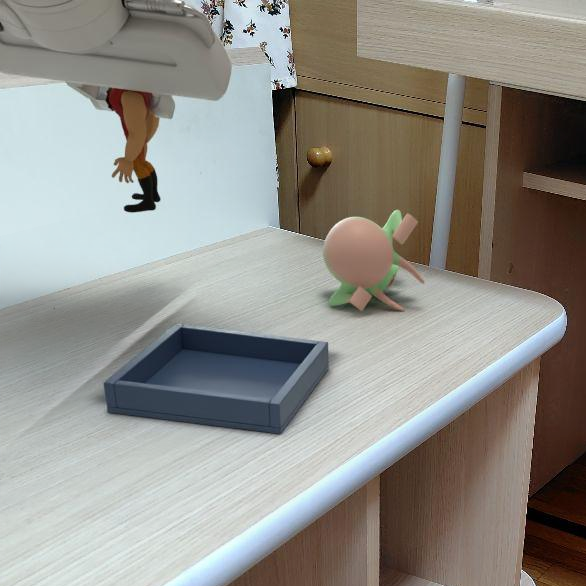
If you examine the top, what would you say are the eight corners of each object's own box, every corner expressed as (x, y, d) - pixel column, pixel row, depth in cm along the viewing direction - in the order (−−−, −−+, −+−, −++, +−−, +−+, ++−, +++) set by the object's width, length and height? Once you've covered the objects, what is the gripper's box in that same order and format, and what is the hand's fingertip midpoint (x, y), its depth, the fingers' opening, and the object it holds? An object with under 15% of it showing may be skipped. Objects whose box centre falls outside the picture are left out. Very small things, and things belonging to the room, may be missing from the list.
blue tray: (107, 412, 76) (102, 382, 75) (178, 350, 88) (175, 323, 86) (280, 434, 76) (279, 404, 74) (328, 368, 87) (328, 341, 86)
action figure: (131, 192, 95) (109, 17, 87) (170, 194, 96) (152, 21, 88) (113, 218, 87) (87, 29, 79) (156, 220, 88) (134, 33, 80)
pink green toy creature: (453, 251, 101) (422, 237, 108) (379, 186, 95) (351, 176, 102) (383, 346, 101) (357, 326, 109) (305, 287, 95) (283, 270, 103)
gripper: (210, -31, 75) (258, 92, 88) (-54, -64, 75) (35, 63, 89) (191, 39, 73) (244, 153, 87) (-77, 5, 74) (16, 124, 87)
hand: (136, 108), depth 88 cm, fingers closed on action figure, 4 cm apart
